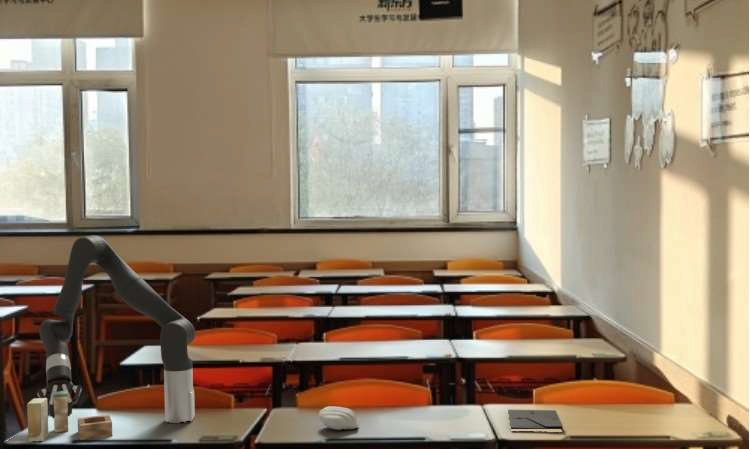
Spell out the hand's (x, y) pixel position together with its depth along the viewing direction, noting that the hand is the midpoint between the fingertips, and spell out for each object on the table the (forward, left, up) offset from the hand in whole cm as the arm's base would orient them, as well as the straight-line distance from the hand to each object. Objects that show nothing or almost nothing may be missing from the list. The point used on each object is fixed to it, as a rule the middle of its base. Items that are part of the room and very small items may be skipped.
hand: (61, 415), depth 254 cm
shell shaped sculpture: (-88, +6, -6) cm, 88 cm away
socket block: (-11, +3, -5) cm, 13 cm away
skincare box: (+5, +7, -5) cm, 10 cm away
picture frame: (-151, +7, -6) cm, 151 cm away
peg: (+1, -2, -5) cm, 5 cm away
